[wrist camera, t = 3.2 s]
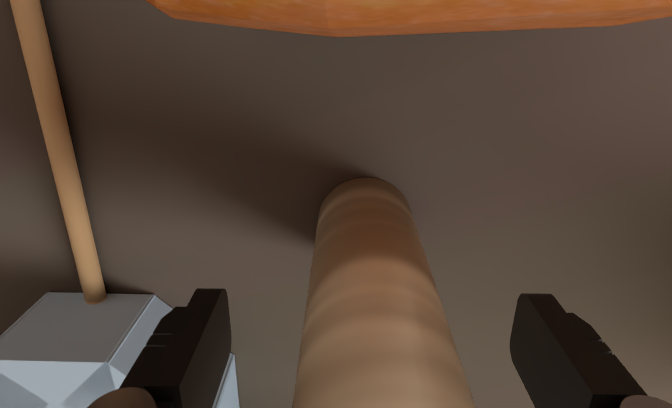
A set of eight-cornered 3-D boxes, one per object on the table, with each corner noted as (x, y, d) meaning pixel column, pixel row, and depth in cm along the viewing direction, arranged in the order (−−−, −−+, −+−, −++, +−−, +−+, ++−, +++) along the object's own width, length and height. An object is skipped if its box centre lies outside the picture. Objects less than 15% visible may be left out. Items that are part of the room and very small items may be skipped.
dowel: (318, 176, 17) (262, 498, 6) (414, 178, 17) (552, 505, 6) (318, 260, 18) (275, 650, 7) (407, 262, 18) (506, 658, 7)
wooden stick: (-30, -208, 12) (-53, -222, 12) (-1, -207, 12) (-23, -221, 12) (93, 298, 19) (83, 310, 18) (111, 299, 19) (102, 311, 18)
